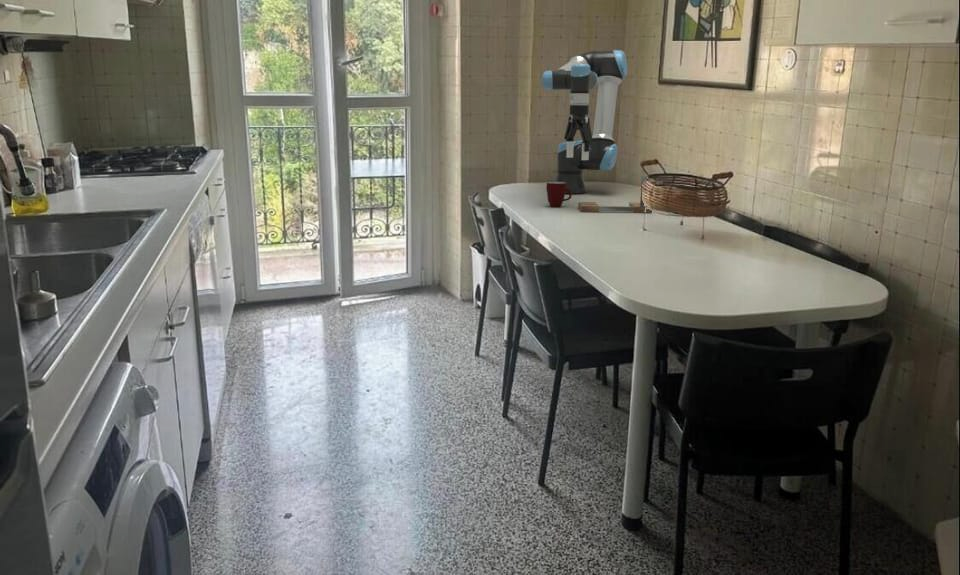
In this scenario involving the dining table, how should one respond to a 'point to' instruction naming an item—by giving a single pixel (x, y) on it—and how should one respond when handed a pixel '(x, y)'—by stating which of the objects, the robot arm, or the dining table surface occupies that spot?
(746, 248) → the dining table surface
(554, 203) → the mug
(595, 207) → the wooden stand
